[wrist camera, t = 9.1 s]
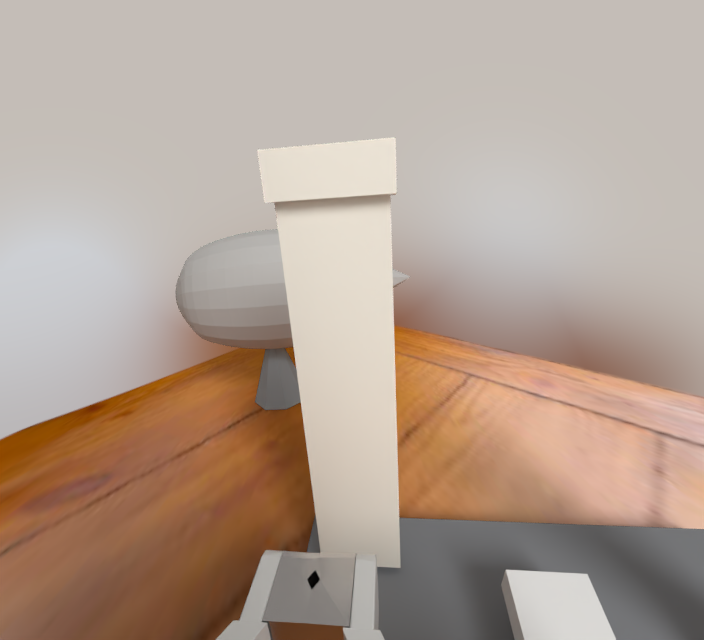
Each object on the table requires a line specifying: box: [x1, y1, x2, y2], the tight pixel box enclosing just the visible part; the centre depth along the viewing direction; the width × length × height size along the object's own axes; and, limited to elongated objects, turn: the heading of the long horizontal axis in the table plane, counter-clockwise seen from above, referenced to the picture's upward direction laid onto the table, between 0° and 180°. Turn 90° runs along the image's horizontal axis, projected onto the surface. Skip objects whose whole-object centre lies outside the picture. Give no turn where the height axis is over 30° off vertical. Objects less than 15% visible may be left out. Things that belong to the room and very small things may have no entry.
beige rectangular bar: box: [257, 137, 401, 568], centre depth 15 cm, size 2×4×19 cm, turn 84°
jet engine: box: [176, 229, 410, 410], centre depth 34 cm, size 15×20×18 cm
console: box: [307, 515, 704, 640], centre depth 15 cm, size 10×22×2 cm, turn 84°
